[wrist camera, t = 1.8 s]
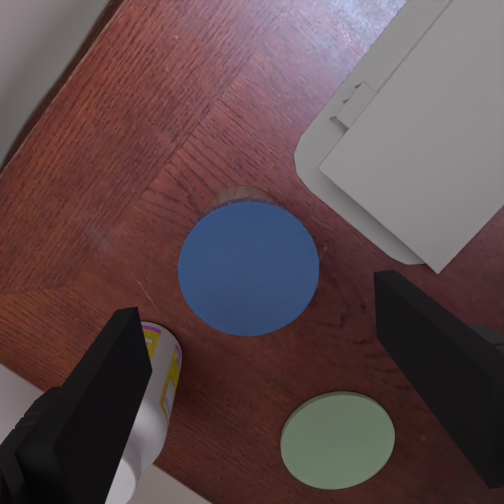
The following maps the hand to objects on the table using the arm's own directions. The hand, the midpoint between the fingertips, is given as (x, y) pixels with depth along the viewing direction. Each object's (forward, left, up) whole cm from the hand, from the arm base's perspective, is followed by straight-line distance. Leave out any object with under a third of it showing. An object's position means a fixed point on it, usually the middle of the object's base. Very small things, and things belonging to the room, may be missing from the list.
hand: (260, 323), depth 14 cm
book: (+17, +7, -17) cm, 25 cm away
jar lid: (0, 0, -6) cm, 6 cm away
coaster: (+6, -22, -17) cm, 28 cm away
